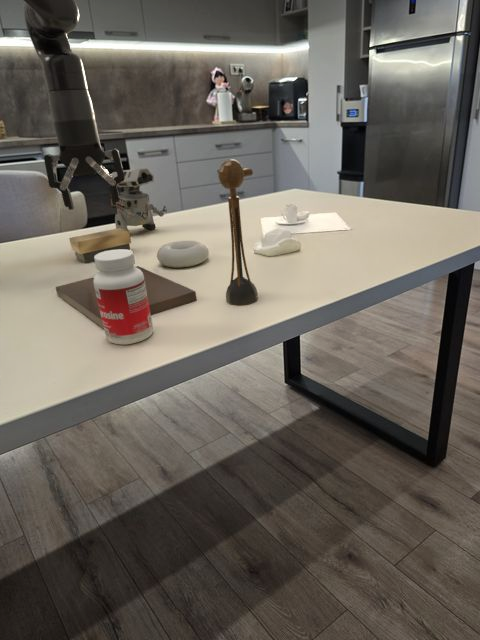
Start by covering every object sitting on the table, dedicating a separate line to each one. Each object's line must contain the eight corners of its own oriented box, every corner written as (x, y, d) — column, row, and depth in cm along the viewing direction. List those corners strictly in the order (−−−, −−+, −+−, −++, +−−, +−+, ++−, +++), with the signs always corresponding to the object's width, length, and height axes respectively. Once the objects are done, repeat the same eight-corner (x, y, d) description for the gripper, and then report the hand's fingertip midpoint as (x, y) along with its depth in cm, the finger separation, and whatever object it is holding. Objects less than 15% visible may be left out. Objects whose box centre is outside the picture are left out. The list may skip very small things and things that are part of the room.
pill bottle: (97, 338, 63) (77, 257, 58) (135, 322, 67) (119, 245, 62) (125, 350, 60) (106, 264, 55) (163, 332, 64) (149, 251, 59)
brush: (82, 264, 97) (77, 241, 94) (74, 259, 100) (69, 238, 98) (133, 252, 102) (129, 231, 100) (123, 248, 106) (119, 227, 104)
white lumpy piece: (292, 235, 89) (244, 233, 92) (293, 258, 91) (245, 256, 94) (306, 222, 97) (261, 222, 100) (306, 244, 99) (262, 243, 102)
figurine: (138, 240, 112) (126, 172, 105) (113, 234, 119) (100, 170, 113) (170, 232, 118) (160, 167, 111) (144, 226, 125) (133, 165, 118)
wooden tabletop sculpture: (248, 290, 77) (238, 155, 68) (268, 296, 74) (261, 156, 64) (220, 300, 73) (205, 160, 64) (240, 307, 70) (227, 161, 61)
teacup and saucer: (308, 217, 122) (308, 201, 121) (312, 224, 115) (312, 207, 114) (274, 220, 122) (273, 203, 121) (276, 227, 115) (275, 209, 114)
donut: (213, 254, 97) (164, 255, 98) (211, 237, 96) (162, 239, 97) (205, 269, 88) (152, 270, 89) (203, 251, 87) (149, 252, 88)
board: (104, 329, 66) (101, 319, 65) (57, 295, 80) (55, 286, 79) (196, 300, 74) (195, 291, 73) (139, 273, 88) (138, 265, 87)
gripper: (29, 121, 85) (53, 214, 93) (112, 115, 88) (128, 206, 95) (38, 121, 92) (59, 207, 99) (114, 115, 94) (129, 200, 101)
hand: (93, 206), depth 97 cm, fingers open, 8 cm apart
